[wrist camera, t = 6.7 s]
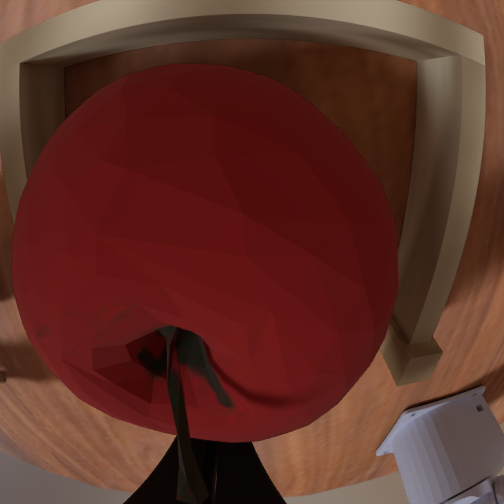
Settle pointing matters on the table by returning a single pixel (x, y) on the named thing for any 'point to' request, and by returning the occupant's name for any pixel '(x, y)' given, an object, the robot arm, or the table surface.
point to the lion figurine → (2, 379)
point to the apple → (204, 258)
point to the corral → (302, 29)
